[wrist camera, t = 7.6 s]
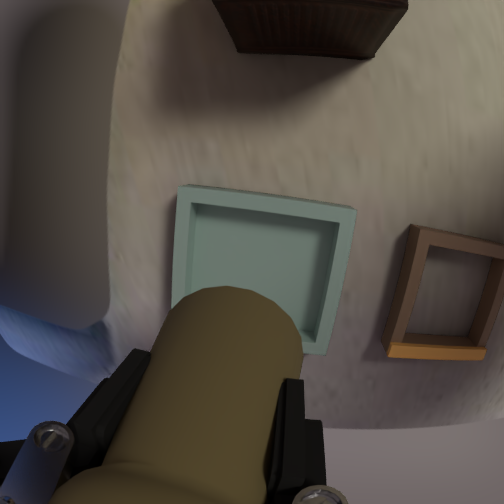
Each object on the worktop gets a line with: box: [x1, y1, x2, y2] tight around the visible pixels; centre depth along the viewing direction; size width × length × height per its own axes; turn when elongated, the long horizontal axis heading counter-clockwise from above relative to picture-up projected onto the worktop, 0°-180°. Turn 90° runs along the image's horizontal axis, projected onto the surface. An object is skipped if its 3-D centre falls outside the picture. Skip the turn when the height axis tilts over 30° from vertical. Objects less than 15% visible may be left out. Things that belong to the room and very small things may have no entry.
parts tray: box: [171, 184, 357, 356], centre depth 23 cm, size 12×11×2 cm
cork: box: [48, 286, 303, 504], centre depth 8 cm, size 6×6×11 cm
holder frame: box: [381, 224, 504, 360], centre depth 22 cm, size 10×10×2 cm
